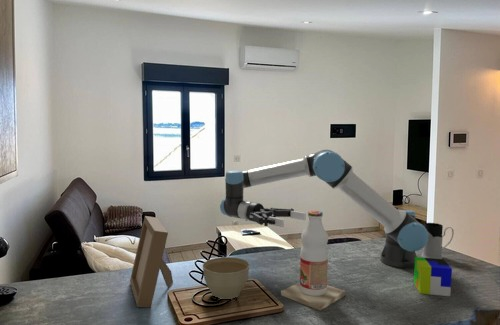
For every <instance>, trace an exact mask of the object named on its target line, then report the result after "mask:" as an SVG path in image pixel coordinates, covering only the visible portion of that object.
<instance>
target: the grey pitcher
mask: <svg viewBox="0 0 500 325" xmlns="http://www.w3.org/2000/svg"><path fill="white" fill-rule="evenodd" d="M423 226H424V227H425V228H426V230H427V232H428V242H427V244H426V245H425V246H424V247H423V248H422V253H421V258H434V259H443V255H442V252H443V250H444V249H445V248H446V247H447V246H448V245H450V244H451V242H452V241H453V238H454V234H455V233H454V228H452V227H450V226H447V227H446V228H444V227H443V226H444V225H442V224H440V223H436V222H435V223H434V222H425V223H424V225H423ZM443 228H444V230H443ZM448 229H451V236H450V239H449V241H448V242H447V243H446V244H445V245H444V246H443V237H445V236H446V231H447V230H448Z"/></svg>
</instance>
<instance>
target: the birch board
mask: <svg viewBox="0 0 500 325" xmlns="http://www.w3.org/2000/svg"><path fill="white" fill-rule="evenodd" d="M280 296H281V297H285V298H286V299H289V300H292V301H295V302H297V303H299V304H301V305H305V306H308V307H309V308H313V309H315V310H317V311H320V312H321V311H323V310H324V309H325V308H327V307H328V306H330V305H332V304H334V303H335V302H337V301H338V300H340V299H341V298H343V297H344V296H346V290H344V289H341V288H337V287H334V286H331V285H328V284H327V291H326V293H325V294H324V295H321V296H310V295H306V294H304V293H302V292H301V291H300V281H299V282H296V283H295V284H293V285H291V286H289V287H286V288H285V289H283V290H281V291H280Z"/></svg>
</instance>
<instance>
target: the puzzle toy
mask: <svg viewBox="0 0 500 325" xmlns="http://www.w3.org/2000/svg"><path fill="white" fill-rule="evenodd" d="M413 268H414V272H413V274H414V275H413V283H414V285H415V288H416V289H417V290H418V292H419V294H423V295H433V296H445V297H451V289H452V273H453V268H452V267H451V266H450V265H449V264H448V262H447V261H446V260H445V259H443V258H442V259H434V258H424V257H420V256H419V257H415V267H413Z"/></svg>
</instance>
